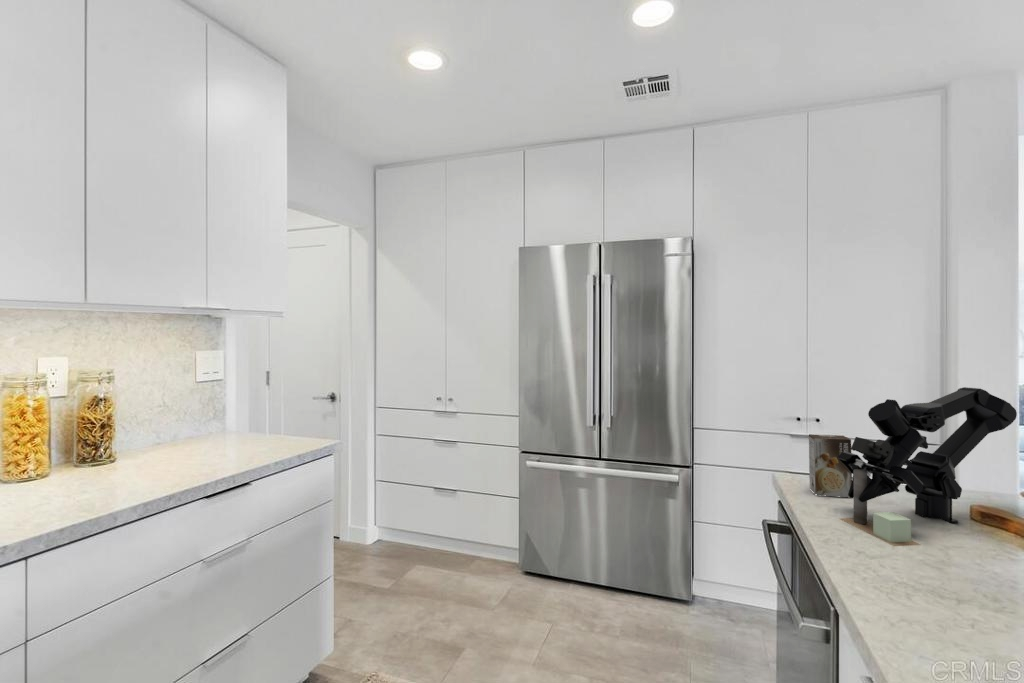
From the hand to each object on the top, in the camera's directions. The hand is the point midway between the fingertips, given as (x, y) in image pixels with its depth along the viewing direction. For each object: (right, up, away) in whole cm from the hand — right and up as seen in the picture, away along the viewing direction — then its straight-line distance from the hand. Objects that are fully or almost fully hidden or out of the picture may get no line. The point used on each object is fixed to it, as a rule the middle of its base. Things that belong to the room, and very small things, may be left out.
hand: (854, 498), depth 119 cm
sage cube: (+2, -6, -9) cm, 11 cm away
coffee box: (+10, -6, +25) cm, 27 cm away
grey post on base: (+2, -7, -5) cm, 8 cm away
